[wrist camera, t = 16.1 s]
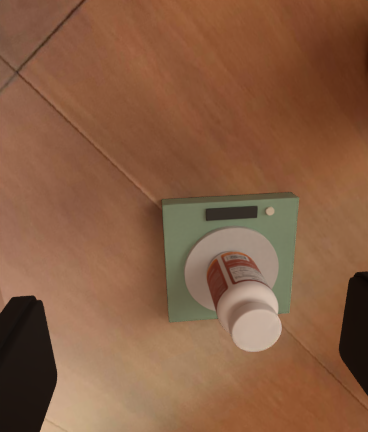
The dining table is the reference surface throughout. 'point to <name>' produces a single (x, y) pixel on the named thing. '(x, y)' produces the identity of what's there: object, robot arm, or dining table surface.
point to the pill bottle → (243, 301)
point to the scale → (226, 246)
